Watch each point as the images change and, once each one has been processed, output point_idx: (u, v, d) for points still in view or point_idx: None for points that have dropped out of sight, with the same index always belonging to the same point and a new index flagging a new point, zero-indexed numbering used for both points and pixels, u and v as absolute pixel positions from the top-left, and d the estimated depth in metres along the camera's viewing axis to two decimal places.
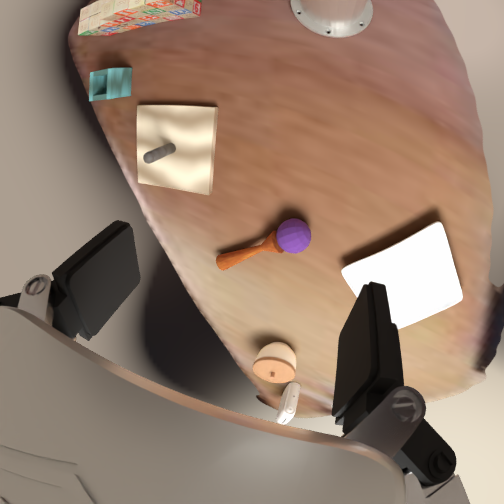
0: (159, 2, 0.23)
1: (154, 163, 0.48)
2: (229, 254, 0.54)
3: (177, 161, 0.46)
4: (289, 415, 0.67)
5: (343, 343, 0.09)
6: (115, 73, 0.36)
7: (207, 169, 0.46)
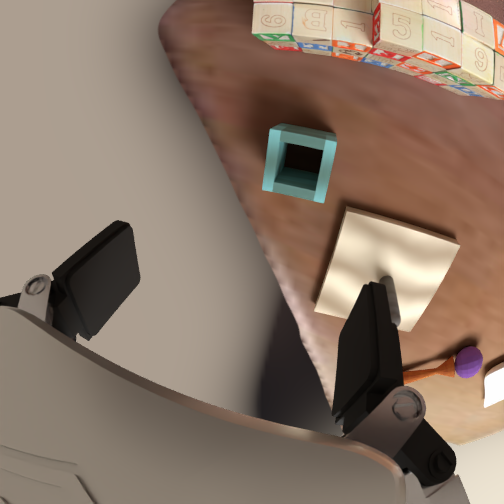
0: None
1: (352, 294, 0.35)
2: None
3: None
4: None
5: (343, 343, 0.09)
6: None
7: (421, 309, 0.33)
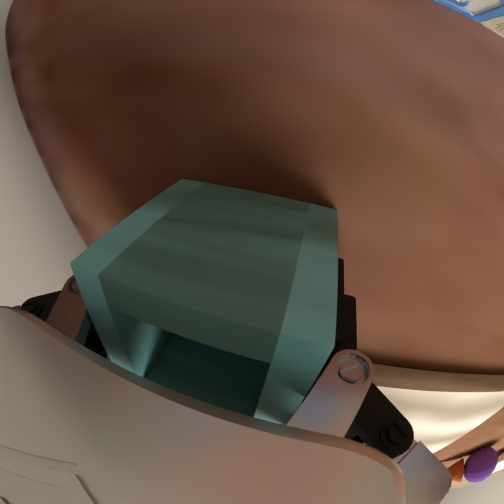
0: None
1: None
2: None
3: None
4: None
5: None
6: None
7: (439, 448, 0.16)
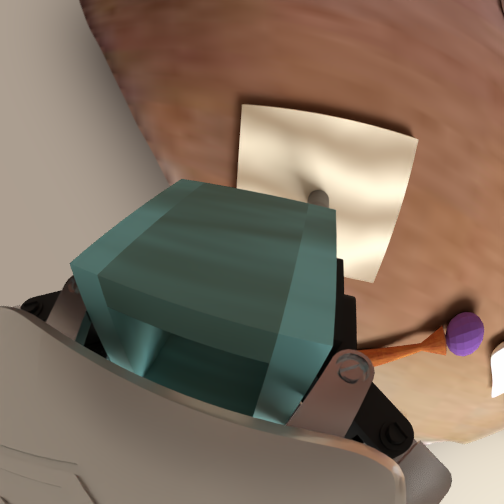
0: None
1: None
2: (373, 355, 0.33)
3: None
4: None
5: None
6: None
7: (383, 244, 0.25)
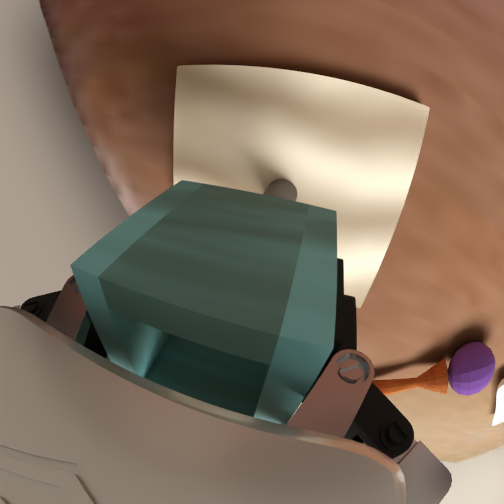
0: None
1: None
2: None
3: None
4: None
5: None
6: None
7: (375, 258, 0.18)
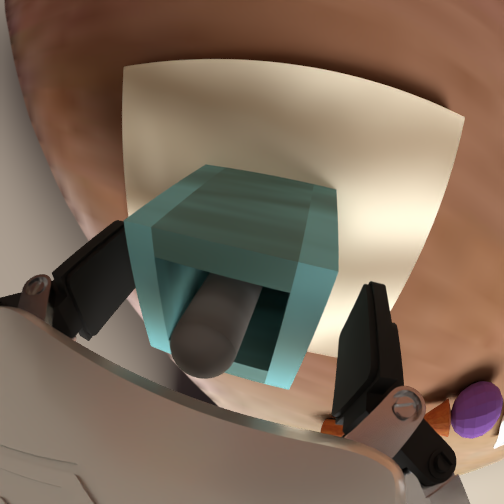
0: None
1: None
2: None
3: None
4: None
5: (343, 343, 0.09)
6: None
7: None
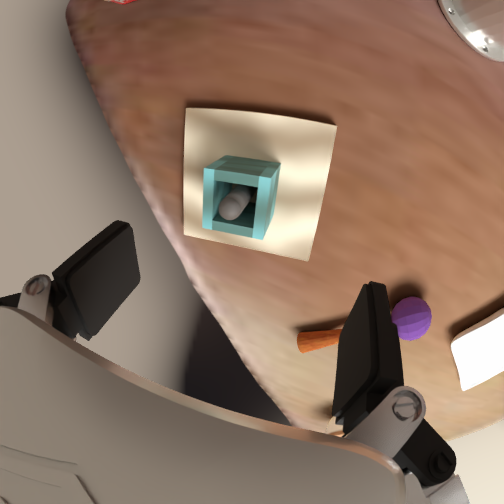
0: None
1: None
2: (317, 336, 0.38)
3: None
4: None
5: (343, 343, 0.09)
6: (271, 186, 0.24)
7: (312, 224, 0.30)
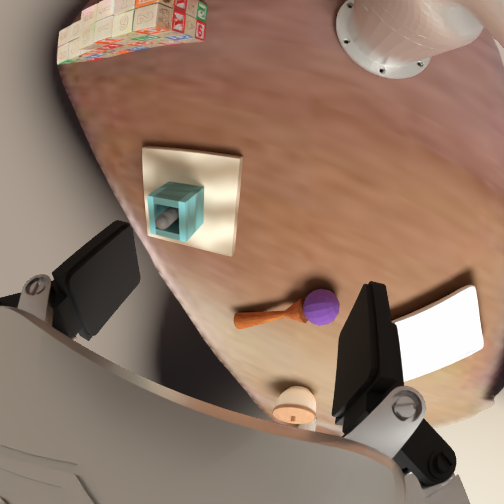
0: (151, 29, 0.19)
1: None
2: (248, 315, 0.50)
3: None
4: None
5: (343, 343, 0.09)
6: (189, 206, 0.35)
7: (230, 229, 0.41)
